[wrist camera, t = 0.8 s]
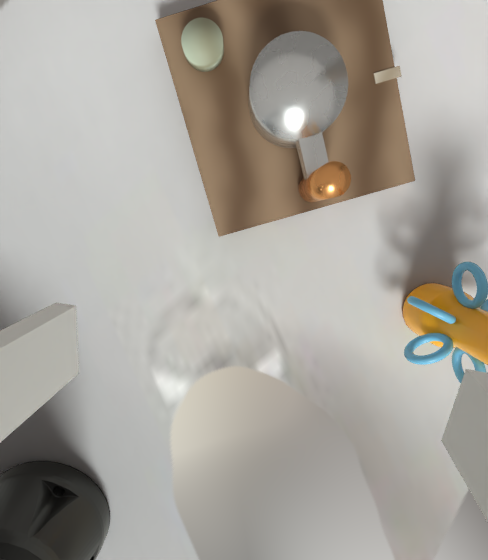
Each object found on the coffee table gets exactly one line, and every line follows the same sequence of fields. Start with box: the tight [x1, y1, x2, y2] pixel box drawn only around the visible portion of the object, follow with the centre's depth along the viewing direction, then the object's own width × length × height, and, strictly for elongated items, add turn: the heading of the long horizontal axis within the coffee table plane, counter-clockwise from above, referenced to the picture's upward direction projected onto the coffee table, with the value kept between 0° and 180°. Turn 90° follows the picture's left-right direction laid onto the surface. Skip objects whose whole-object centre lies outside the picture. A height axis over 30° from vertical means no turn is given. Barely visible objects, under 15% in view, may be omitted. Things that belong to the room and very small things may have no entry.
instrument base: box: [155, 0, 415, 236], centre depth 32 cm, size 20×20×4 cm
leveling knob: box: [248, 31, 351, 202], centre depth 28 cm, size 13×8×8 cm, turn 16°
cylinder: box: [403, 262, 488, 383], centre depth 30 cm, size 12×10×15 cm
